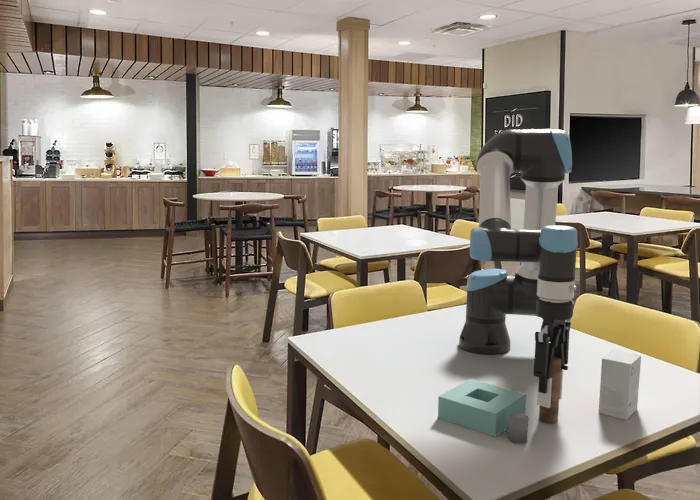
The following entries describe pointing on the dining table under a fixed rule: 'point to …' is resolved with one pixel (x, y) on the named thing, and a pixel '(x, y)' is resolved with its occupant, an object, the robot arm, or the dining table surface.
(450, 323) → the dining table surface
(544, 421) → the walnut dowel
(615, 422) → the dining table surface
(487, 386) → the hole block
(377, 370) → the dining table surface
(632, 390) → the small box
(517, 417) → the charcoal dowel
